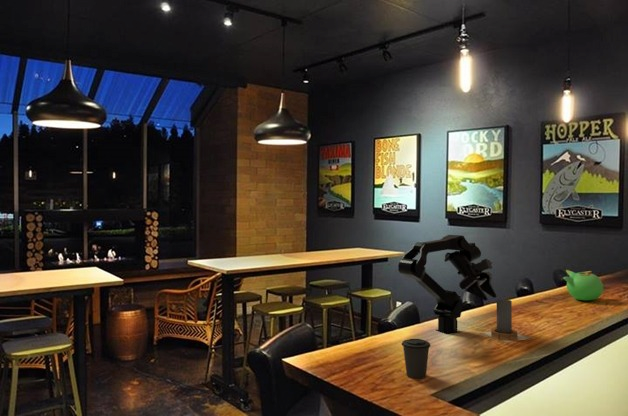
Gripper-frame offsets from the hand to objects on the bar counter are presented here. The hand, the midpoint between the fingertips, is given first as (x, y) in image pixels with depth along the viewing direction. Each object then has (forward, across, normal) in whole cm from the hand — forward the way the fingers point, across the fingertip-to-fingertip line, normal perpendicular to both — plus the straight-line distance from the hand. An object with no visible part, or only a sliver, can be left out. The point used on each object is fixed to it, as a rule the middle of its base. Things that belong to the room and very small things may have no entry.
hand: (491, 298), depth 175 cm
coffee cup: (+10, -53, +13) cm, 56 cm away
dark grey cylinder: (+13, 0, +6) cm, 14 cm away
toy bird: (+16, +93, -3) cm, 94 cm away
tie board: (+13, +2, +6) cm, 14 cm away
